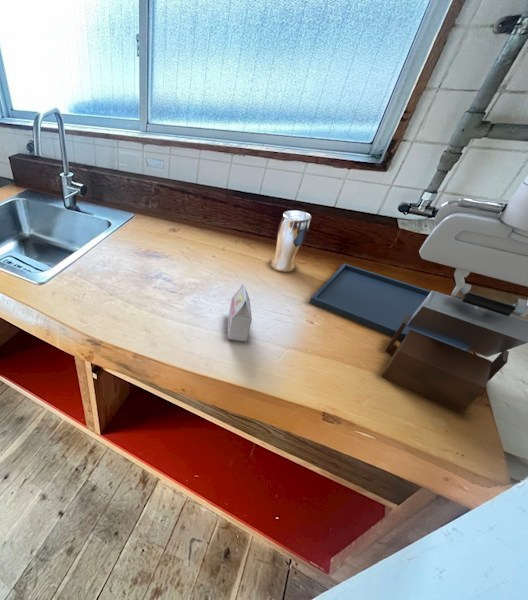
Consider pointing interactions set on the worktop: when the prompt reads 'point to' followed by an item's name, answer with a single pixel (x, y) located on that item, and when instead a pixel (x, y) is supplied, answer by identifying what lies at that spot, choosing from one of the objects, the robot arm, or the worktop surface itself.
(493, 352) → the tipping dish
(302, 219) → the silver metal vase
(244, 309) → the grey boxy piece
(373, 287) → the tray
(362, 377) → the worktop surface
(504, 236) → the robot arm
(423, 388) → the stand
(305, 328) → the worktop surface
